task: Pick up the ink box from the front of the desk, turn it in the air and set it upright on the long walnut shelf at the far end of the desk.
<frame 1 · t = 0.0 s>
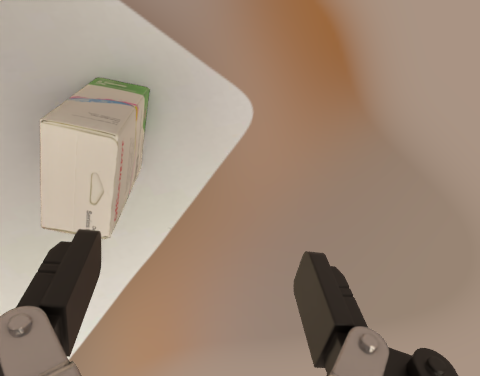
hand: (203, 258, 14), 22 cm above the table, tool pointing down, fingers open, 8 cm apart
ink box: (118, 124, 34), on the table
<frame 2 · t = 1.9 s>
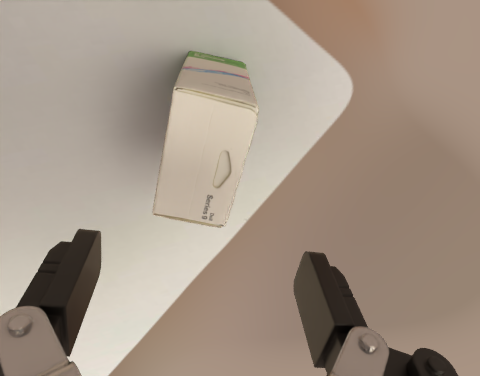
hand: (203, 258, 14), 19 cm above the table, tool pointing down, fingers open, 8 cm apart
ink box: (206, 104, 31), on the table
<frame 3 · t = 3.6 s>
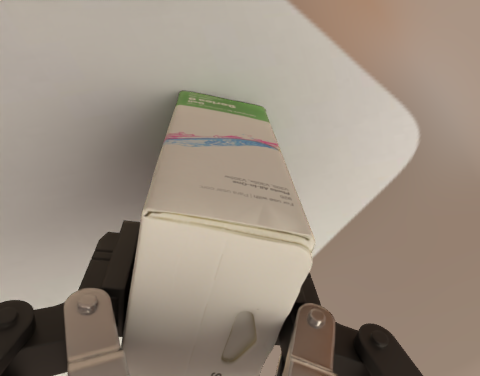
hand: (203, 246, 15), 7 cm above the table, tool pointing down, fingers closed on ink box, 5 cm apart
ink box: (206, 163, 21), on the table, touching gripper
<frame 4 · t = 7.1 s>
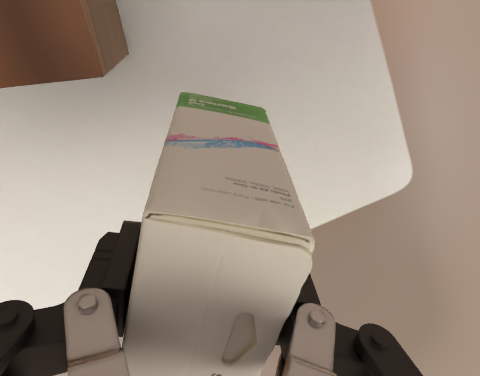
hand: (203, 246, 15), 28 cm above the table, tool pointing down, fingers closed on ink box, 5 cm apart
ink box: (206, 164, 21), point 20 cm above the table, touching gripper
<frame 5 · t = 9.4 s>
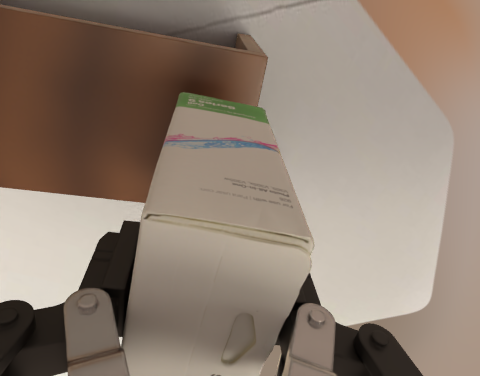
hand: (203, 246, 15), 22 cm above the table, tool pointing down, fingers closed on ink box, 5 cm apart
shelf: (119, 83, 32), on the table
ink box: (206, 164, 21), point 14 cm above the table, touching gripper
when the fingers open (17 cm above the table, at t = 10.9 s): ink box stays where it is, resting on shelf.
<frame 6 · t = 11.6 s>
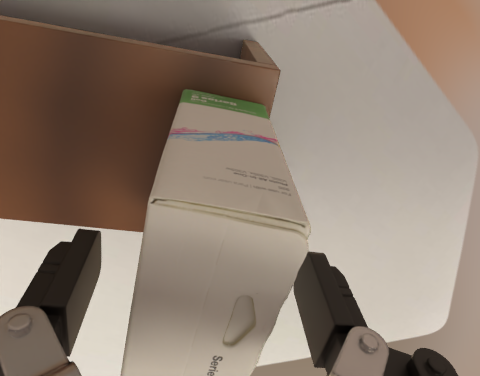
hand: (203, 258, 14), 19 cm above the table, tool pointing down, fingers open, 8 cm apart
shelf: (112, 94, 29), on the table
ink box: (208, 159, 22), point 10 cm above the table, touching shelf
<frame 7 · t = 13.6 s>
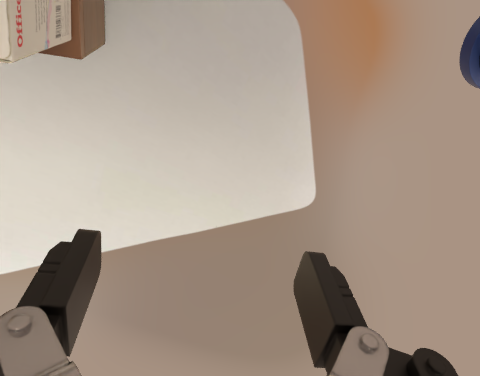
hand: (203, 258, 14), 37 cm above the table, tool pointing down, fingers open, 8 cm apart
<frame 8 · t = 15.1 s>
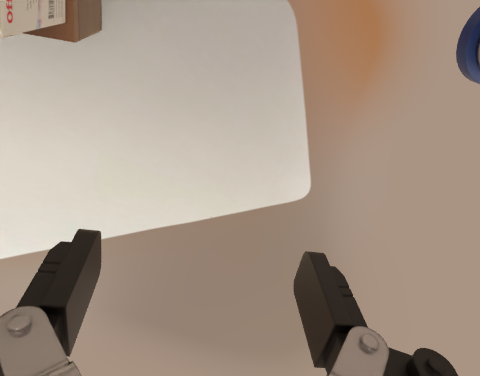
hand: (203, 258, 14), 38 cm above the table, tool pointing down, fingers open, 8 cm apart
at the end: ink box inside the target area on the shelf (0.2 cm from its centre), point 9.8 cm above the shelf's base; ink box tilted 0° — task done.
